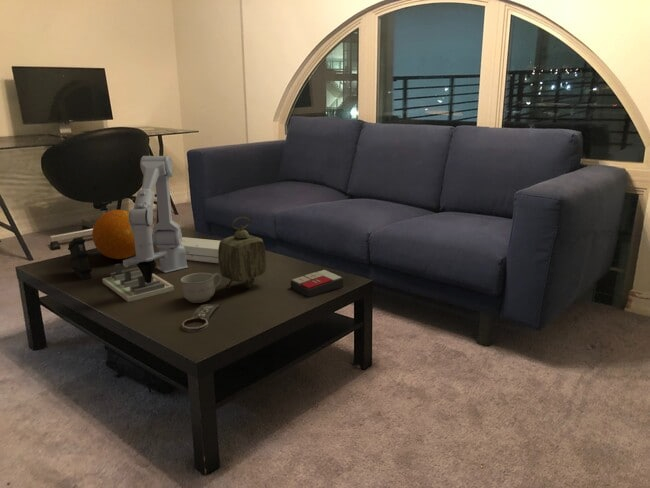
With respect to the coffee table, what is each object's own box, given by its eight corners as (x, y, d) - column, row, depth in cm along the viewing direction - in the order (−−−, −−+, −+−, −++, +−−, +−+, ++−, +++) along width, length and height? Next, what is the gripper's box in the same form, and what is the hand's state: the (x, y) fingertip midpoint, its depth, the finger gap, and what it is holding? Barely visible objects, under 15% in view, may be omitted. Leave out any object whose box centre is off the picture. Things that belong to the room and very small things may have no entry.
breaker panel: (145, 272, 206) (144, 265, 205) (173, 289, 189) (173, 281, 188) (102, 282, 196) (101, 274, 196) (128, 301, 179) (127, 293, 178)
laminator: (164, 257, 225) (162, 243, 223) (181, 249, 236) (180, 235, 234) (237, 266, 213) (236, 251, 212) (251, 257, 224) (251, 242, 223)
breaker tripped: (144, 288, 186) (142, 275, 184) (146, 289, 184) (144, 276, 183) (138, 290, 184) (137, 276, 183) (140, 291, 183) (139, 277, 182)
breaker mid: (130, 282, 191) (129, 269, 190) (132, 283, 190) (130, 270, 189) (125, 283, 190) (123, 270, 189) (126, 285, 189) (125, 271, 188)
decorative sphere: (100, 269, 211) (93, 218, 205) (92, 255, 227) (85, 208, 222) (152, 260, 220) (147, 212, 215) (141, 248, 237) (136, 202, 231)
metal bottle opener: (224, 307, 175) (224, 301, 174) (203, 334, 157) (202, 327, 156) (201, 306, 176) (200, 300, 175) (177, 332, 158) (176, 326, 157)
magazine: (83, 278, 196) (73, 238, 197) (76, 284, 207) (66, 246, 207) (94, 276, 198) (83, 236, 199) (86, 282, 209) (76, 244, 210)
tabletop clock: (253, 278, 199) (250, 211, 192) (269, 284, 192) (266, 215, 185) (220, 289, 189) (215, 218, 182) (235, 295, 183) (231, 223, 176)
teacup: (187, 308, 173) (184, 284, 171) (179, 297, 182) (176, 274, 180) (229, 300, 179) (227, 277, 177) (219, 289, 189) (218, 267, 186)
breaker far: (121, 275, 198) (119, 263, 197) (122, 277, 197) (121, 264, 195) (115, 277, 197) (113, 264, 195) (117, 278, 196) (115, 265, 194)
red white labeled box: (289, 278, 188) (324, 267, 197) (290, 290, 190) (325, 278, 198) (308, 288, 180) (343, 275, 188) (308, 300, 181) (344, 287, 190)
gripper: (126, 250, 174) (131, 290, 178) (169, 242, 183) (173, 280, 187) (118, 246, 179) (123, 284, 183) (160, 237, 188) (164, 275, 192)
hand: (148, 282), depth 185 cm, fingers closed
